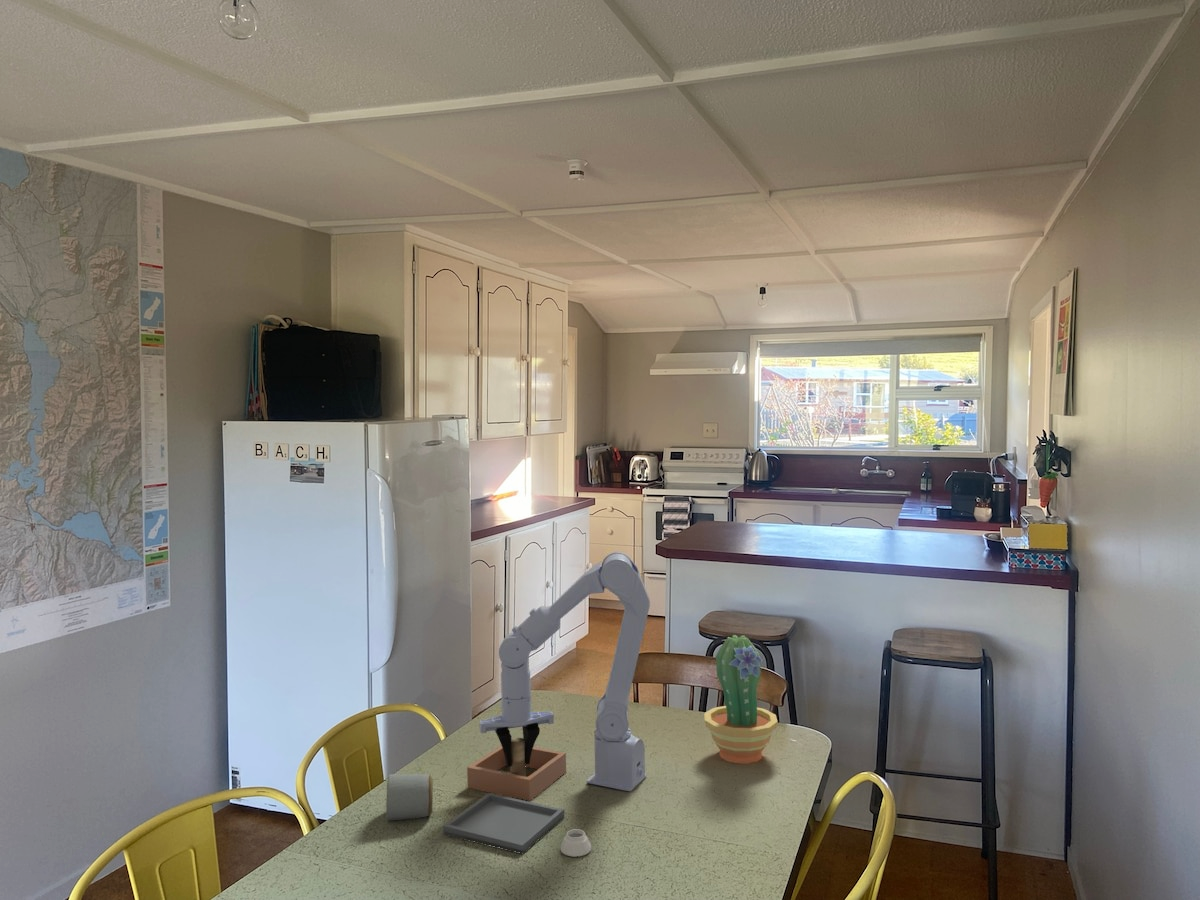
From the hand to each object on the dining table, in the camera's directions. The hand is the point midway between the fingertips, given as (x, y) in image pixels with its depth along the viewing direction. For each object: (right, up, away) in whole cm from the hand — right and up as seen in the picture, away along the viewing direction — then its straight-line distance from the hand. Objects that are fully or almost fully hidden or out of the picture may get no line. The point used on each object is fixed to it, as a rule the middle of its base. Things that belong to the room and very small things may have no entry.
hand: (517, 763), depth 167 cm
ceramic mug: (-18, -4, -13) cm, 23 cm away
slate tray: (0, -4, -19) cm, 19 cm away
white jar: (+12, -5, -27) cm, 30 cm away
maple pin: (0, -2, 0) cm, 2 cm away
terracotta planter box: (0, -3, 0) cm, 3 cm away
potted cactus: (+46, -2, +11) cm, 47 cm away
